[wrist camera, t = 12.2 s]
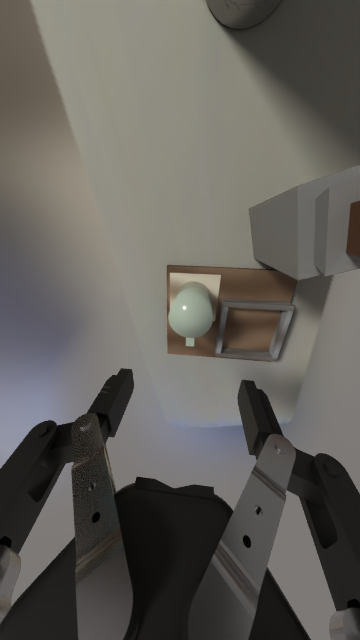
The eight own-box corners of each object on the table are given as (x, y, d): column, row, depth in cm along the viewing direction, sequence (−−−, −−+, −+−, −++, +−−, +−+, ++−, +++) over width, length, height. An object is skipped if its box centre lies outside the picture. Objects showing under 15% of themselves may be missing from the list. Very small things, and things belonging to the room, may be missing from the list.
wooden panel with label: (167, 264, 28) (164, 268, 26) (296, 270, 27) (307, 274, 24) (168, 350, 36) (165, 359, 33) (268, 358, 35) (274, 368, 32)
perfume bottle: (303, 190, 23) (553, 91, 7) (303, 245, 25) (479, 268, 9) (248, 208, 24) (345, 163, 8) (254, 258, 27) (335, 298, 11)
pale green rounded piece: (211, 282, 28) (215, 298, 21) (207, 326, 31) (209, 353, 24) (176, 280, 28) (167, 296, 21) (176, 324, 32) (169, 350, 25)
